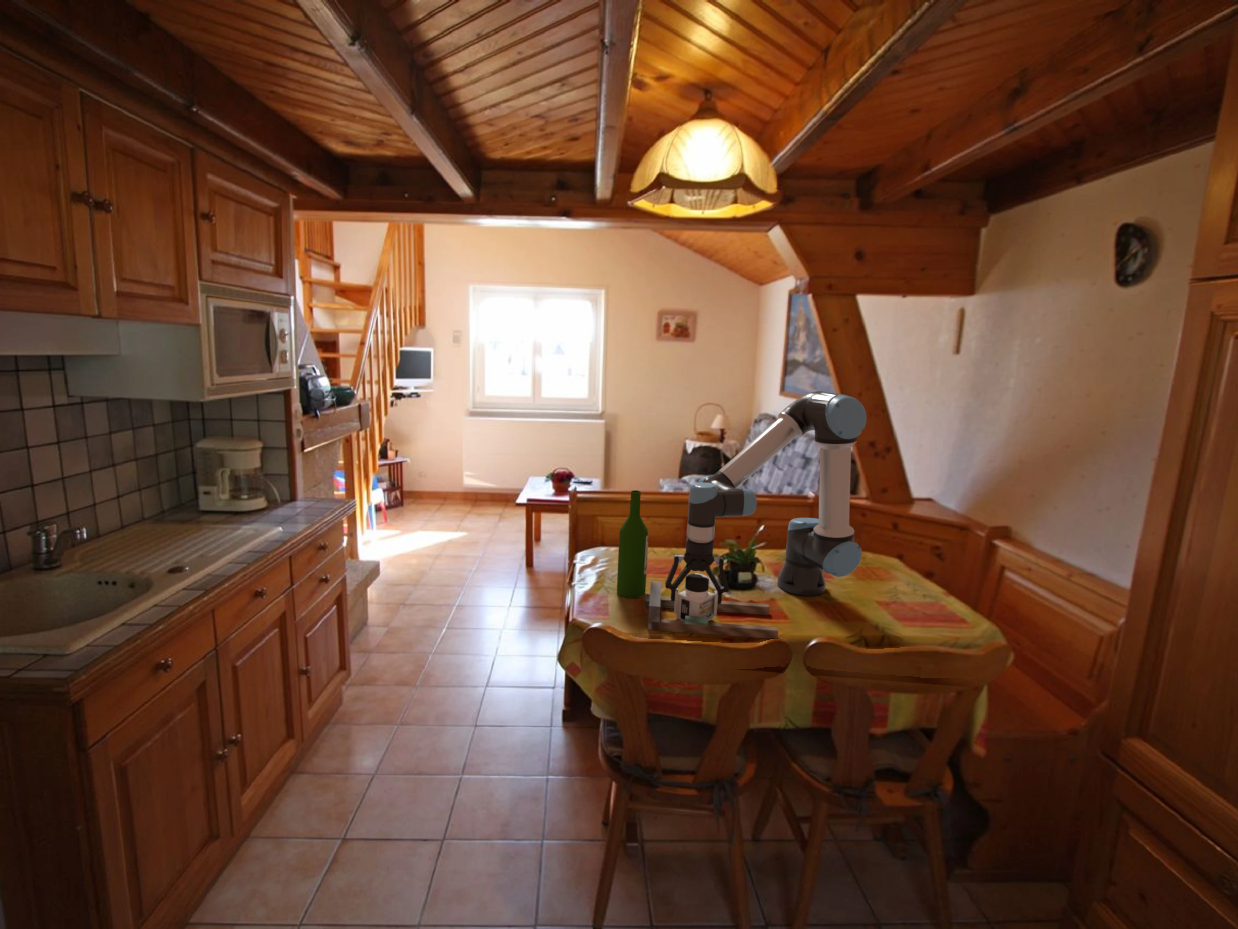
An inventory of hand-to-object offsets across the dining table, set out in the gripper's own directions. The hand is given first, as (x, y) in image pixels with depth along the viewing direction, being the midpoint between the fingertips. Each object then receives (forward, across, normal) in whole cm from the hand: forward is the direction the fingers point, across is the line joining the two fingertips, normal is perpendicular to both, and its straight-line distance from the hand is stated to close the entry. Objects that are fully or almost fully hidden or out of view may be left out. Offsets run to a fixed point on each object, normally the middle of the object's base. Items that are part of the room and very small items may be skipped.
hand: (695, 612), depth 179 cm
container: (+2, 0, 0) cm, 2 cm away
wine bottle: (+2, +19, -16) cm, 25 cm away
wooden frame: (+2, -4, 0) cm, 4 cm away
